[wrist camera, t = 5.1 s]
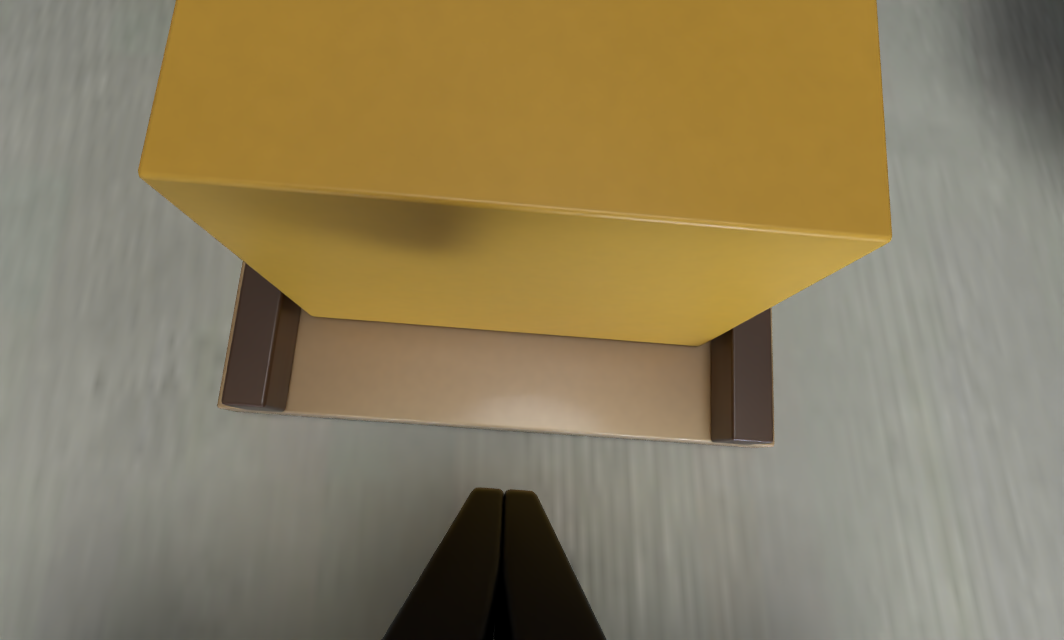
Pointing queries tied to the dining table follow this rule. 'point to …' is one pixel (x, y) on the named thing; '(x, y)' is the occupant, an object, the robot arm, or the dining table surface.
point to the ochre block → (529, 156)
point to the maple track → (496, 376)
